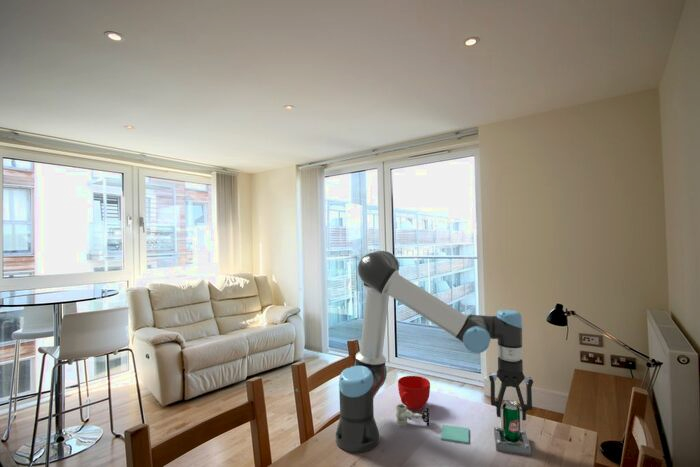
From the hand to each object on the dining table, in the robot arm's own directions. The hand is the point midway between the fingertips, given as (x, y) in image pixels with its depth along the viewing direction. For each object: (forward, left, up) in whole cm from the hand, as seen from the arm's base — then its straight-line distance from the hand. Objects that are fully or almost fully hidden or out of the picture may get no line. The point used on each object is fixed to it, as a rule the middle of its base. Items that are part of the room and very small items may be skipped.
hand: (511, 427), depth 119 cm
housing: (0, 0, -5) cm, 6 cm away
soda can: (0, 0, -4) cm, 4 cm away
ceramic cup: (-35, +16, -6) cm, 39 cm away
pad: (-18, +1, -6) cm, 19 cm away
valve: (-33, +4, -6) cm, 34 cm away
